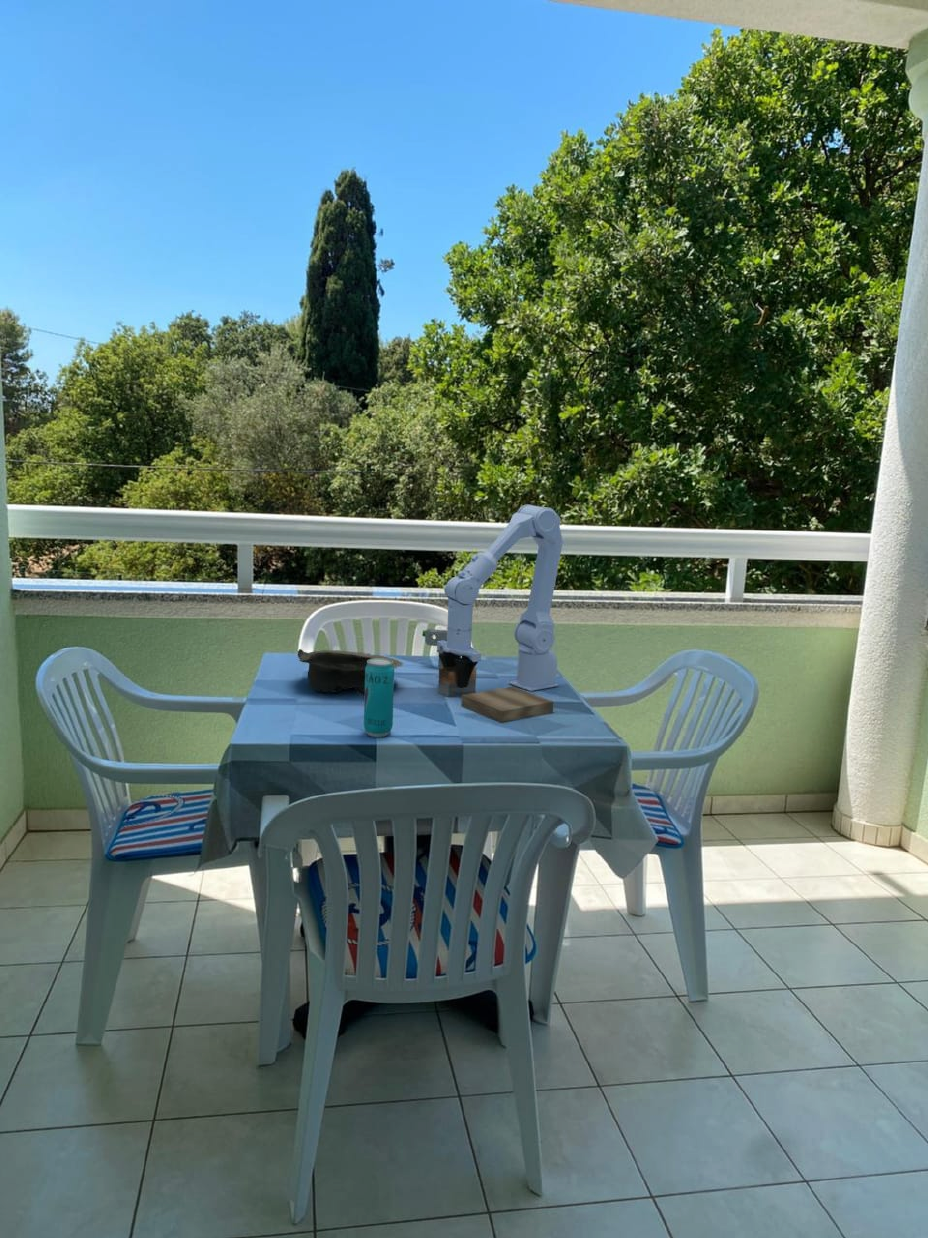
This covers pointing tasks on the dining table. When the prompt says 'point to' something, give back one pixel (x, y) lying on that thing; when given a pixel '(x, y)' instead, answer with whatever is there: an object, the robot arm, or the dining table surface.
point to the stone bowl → (338, 669)
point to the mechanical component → (435, 640)
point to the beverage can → (378, 697)
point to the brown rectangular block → (454, 682)
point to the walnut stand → (507, 704)
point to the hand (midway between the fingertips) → (457, 684)
